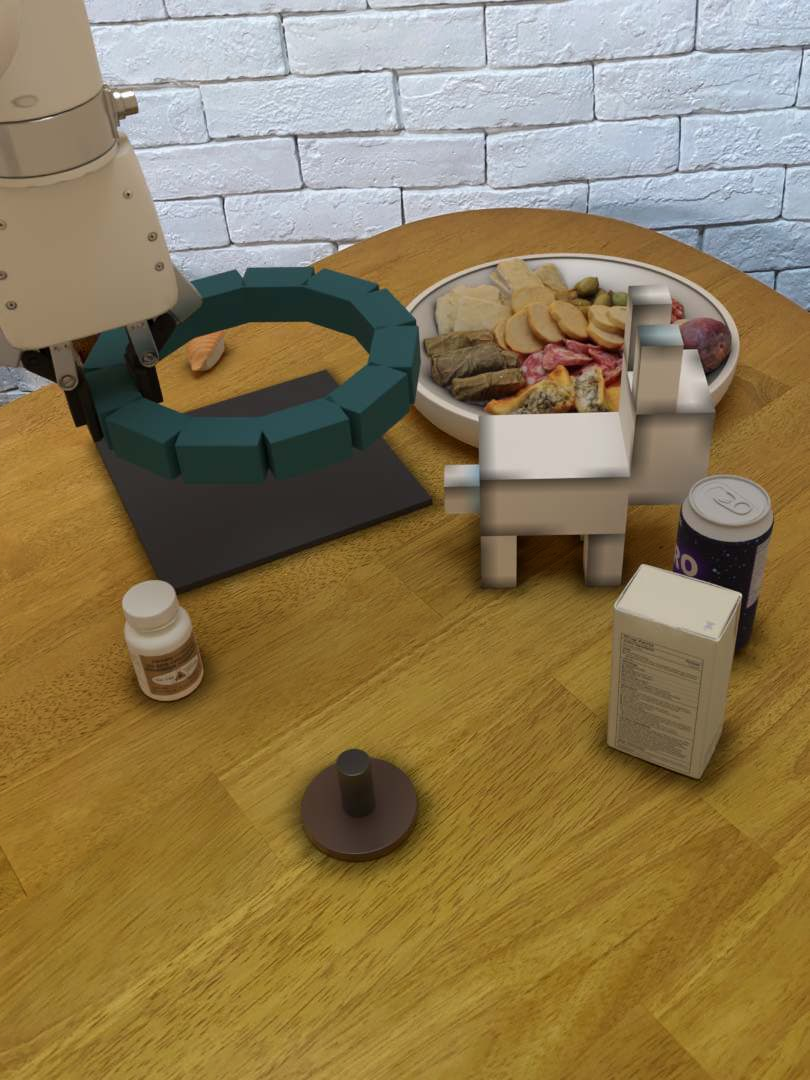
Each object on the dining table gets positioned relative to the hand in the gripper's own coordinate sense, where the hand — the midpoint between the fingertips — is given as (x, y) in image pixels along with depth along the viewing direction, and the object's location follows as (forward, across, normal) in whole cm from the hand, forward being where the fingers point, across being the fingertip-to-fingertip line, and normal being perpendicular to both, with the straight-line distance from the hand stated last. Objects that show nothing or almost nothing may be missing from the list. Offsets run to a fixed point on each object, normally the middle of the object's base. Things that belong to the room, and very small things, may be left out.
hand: (121, 419), depth 70 cm
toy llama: (+18, -28, +7) cm, 34 cm away
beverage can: (+18, -32, +19) cm, 42 cm away
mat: (+18, -11, -14) cm, 25 cm away
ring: (0, -9, 0) cm, 9 cm away
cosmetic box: (+18, -24, +25) cm, 39 cm away
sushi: (+18, -12, -32) cm, 39 cm away
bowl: (+18, -40, -13) cm, 45 cm away
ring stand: (+17, -5, +22) cm, 28 cm away
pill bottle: (+18, +2, +6) cm, 19 cm away
